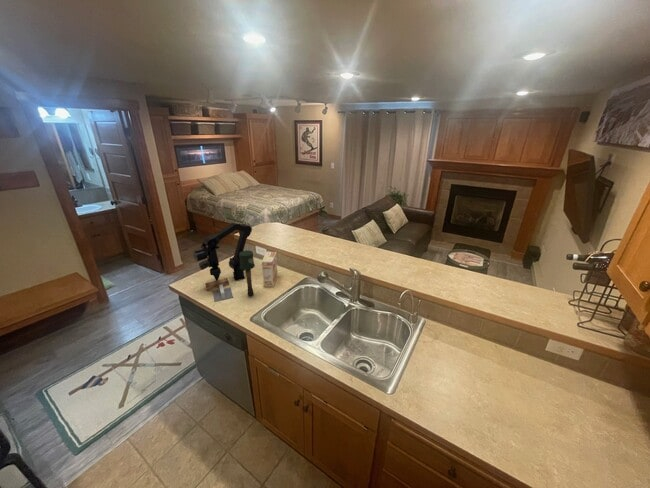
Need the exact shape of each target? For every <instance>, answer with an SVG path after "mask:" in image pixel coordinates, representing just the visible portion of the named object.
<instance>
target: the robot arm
mask: <svg viewBox="0 0 650 488" xmlns="http://www.w3.org/2000/svg"><path fill="white" fill-rule="evenodd" d="M252 230H253V228H252V226H250V225H249V224H246V223H236V222H231V223H230V224H229V225H227V226H226V227H224V228H223V229H221V230H220V231H218V232H216V233H214V234H209V235H207V236H205V237H204V238H203V242H202V244H201V246H200V248H201V249H200V248H199V249H196V250H193V254H192V255H193V259H194V260H195V262H199V263H198V266H199V269H200V270H202V271H203V270H205V269H207V268H210V269H209V275H210V276H213V278H214V281H218V280H220V275H221V273H222V270H221V267H220V263H219V261H220V260H219V257H218V252H217V250H218V249H220V246H218V244H220V241H222V240H223V239H224V238H225V237H227V236H229V235H230V234H232V233H234V232H235V231H238V234H239V236H238V240H237V243H236V247H235V251H234V255H233V256H232V257H230V258H229V261H228V266H229V268H230V269H232V270H233V272H232V274H233V279H234V280H235V281H240V280H243V279H244V280H245V277H246V276H245V270H243V269H241V268H240V257H239V253H240V252H242V251H245V245H246V242H247V239H248V238H249V237H250V236H251V234H252ZM200 261H201V262H200Z"/></svg>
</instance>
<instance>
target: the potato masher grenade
mask: <svg viewBox="0 0 650 488" xmlns="http://www.w3.org/2000/svg"><path fill="white" fill-rule="evenodd" d="M239 257H240V268H241V269H243V270H245V271H244V274H245V277H246V284H247V297H253V296H254V295H255V293H254V289H253V282H252V271H251V270H252V269H253V268H255V266H256V265H255V261H254V252H253V250H252V251H251V250H243V251H242V252H240V253H239Z"/></svg>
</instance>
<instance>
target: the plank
mask: <svg viewBox="0 0 650 488" xmlns="http://www.w3.org/2000/svg"><path fill="white" fill-rule="evenodd" d="M222 284H223V288H224V287H227V286H230V281H229V279H228V277H225V278H219V279H218V281H216V280H213V281H208V282H205V289H206V292H209V291H214V290H218V289H220V286H219V285H222Z"/></svg>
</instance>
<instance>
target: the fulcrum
mask: <svg viewBox="0 0 650 488" xmlns="http://www.w3.org/2000/svg"><path fill="white" fill-rule="evenodd" d="M219 286H220V288H219V289H215V290H212V295H213V302H214V303H217V302H220V301H225V300H229V299H234V295H233V292H232V287H226V288H224V287H223V284H222V285H219Z"/></svg>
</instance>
